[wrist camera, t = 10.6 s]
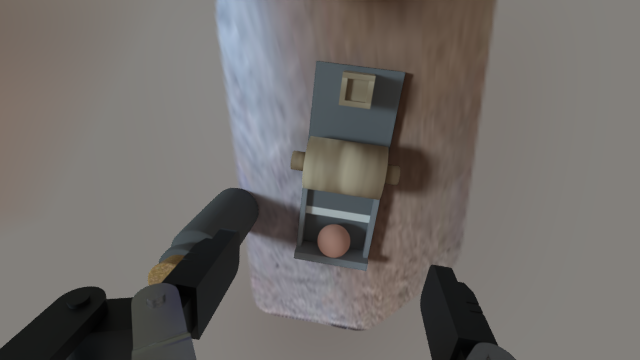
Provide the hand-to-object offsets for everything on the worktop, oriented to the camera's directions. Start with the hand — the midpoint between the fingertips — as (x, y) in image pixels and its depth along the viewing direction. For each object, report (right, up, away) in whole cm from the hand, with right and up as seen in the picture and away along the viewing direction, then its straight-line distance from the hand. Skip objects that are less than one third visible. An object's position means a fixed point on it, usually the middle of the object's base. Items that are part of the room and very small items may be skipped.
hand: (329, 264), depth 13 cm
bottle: (-11, 0, +28) cm, 30 cm away
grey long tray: (+2, +5, +24) cm, 25 cm away
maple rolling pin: (+3, +6, +23) cm, 24 cm away
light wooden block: (+4, +13, +20) cm, 25 cm away
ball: (+1, -5, +27) cm, 27 cm away
